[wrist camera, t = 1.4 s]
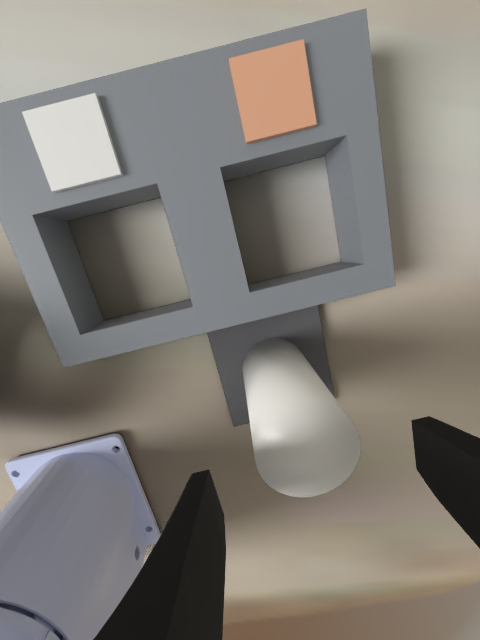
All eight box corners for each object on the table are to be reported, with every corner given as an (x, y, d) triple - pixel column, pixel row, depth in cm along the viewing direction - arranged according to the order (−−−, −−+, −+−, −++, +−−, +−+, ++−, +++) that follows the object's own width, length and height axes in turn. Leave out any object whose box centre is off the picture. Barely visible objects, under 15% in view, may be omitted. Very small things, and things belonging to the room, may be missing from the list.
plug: (309, 387, 19) (367, 483, 11) (250, 402, 19) (267, 507, 11) (297, 331, 18) (352, 393, 10) (235, 346, 18) (243, 420, 10)
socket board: (367, 279, 18) (399, 286, 15) (89, 348, 18) (60, 370, 15) (338, 55, 15) (369, 2, 12) (6, 140, 15) (-52, 111, 12)
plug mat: (332, 398, 20) (334, 401, 19) (233, 422, 20) (233, 426, 19) (314, 300, 18) (317, 302, 18) (206, 327, 18) (206, 329, 18)
